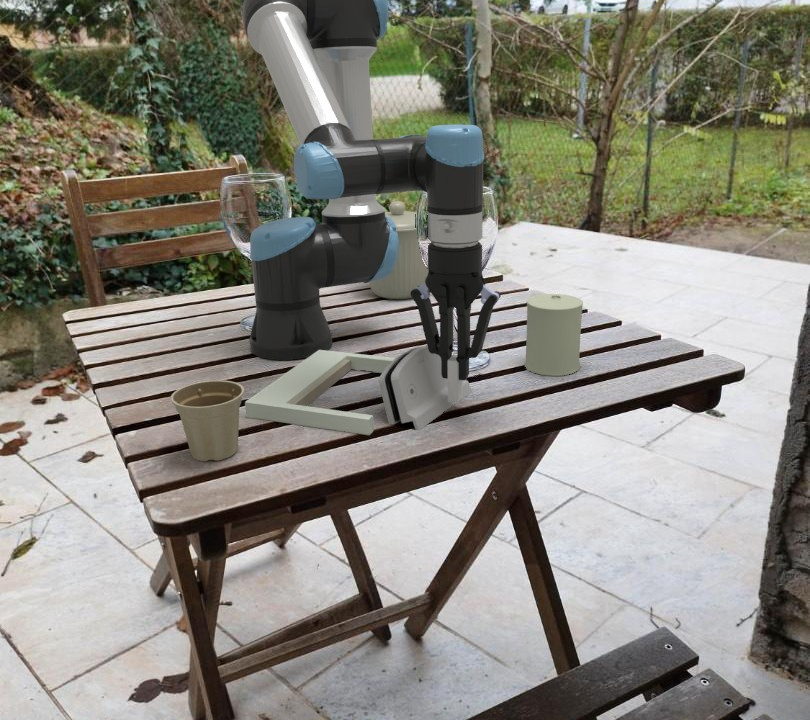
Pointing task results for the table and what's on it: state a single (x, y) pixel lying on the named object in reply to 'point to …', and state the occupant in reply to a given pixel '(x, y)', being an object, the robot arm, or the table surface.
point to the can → (553, 334)
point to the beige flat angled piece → (315, 393)
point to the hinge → (416, 388)
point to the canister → (402, 258)
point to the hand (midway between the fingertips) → (455, 398)
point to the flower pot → (210, 417)
